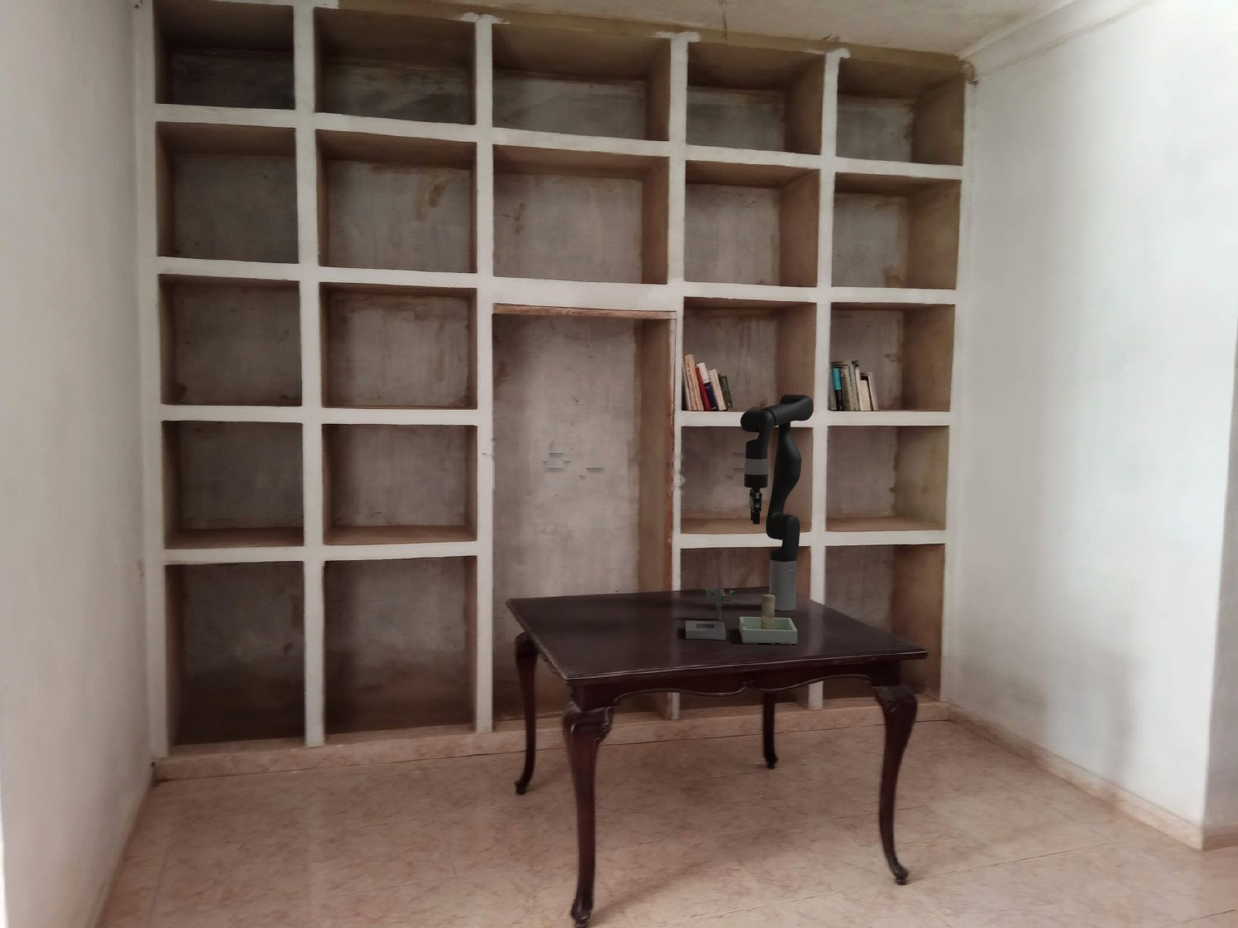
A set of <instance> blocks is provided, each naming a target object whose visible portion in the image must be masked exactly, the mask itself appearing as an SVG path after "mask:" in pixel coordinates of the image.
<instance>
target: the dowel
mask: <svg viewBox="0 0 1238 928" xmlns="http://www.w3.org/2000/svg"><path fill="white" fill-rule="evenodd" d="M760 609H761V613H760V614H761V615H760V617H761V630H774V618H775V612H776V610H775V596H774V595H769V594H762V595H761V608H760Z"/></svg>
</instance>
